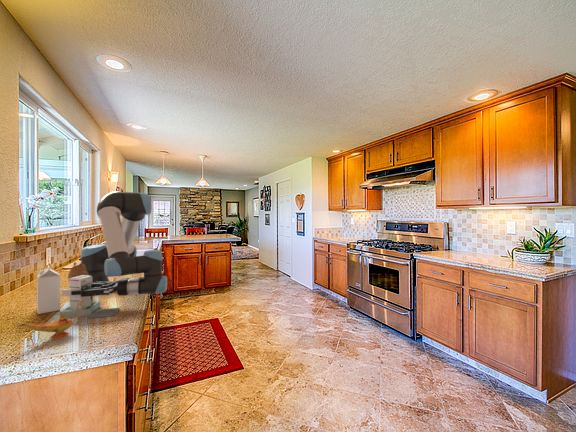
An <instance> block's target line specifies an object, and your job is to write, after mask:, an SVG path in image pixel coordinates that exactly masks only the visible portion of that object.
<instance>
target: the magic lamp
mask: <svg viewBox="0 0 576 432" xmlns="http://www.w3.org/2000/svg"><path fill="white" fill-rule="evenodd" d="M82 300H83V299H82ZM82 300H81V301H80V302H79V301H78V302H79V304H78V302H77V304H78V305H80V306H81V307H83V306H82V305H81V302H82V303H83V301H82ZM77 307H78V308H79V306H77ZM78 308H77V310H76V311H77V312H78ZM83 308H84V309H85V307H83ZM85 311H86V309H85ZM85 311H84V312H83V313H82V314H81V315H83V314H84V313H85ZM77 312H75V314H74V315H76V314H77ZM74 315H73V317H69V316H65V314H64V313H63V314H62V316H61V317H60V316H59V318H57V320H55V321H51V322H49V323H43V324H32V323H31V324H28V323H23V324H22V323H21V324H18V325H16V327H24V328H27V329H29V330H33V331H38V332H43V333H46V332H47V333H54V334H52V335H51V336H50V337H49V338H50V339H51V340H57V339H62V338H66V337H68V336H70V333H69V332H68V331H67V332H66V330H67V329H69V328H71V326H76V325H78V323H79V322H78V321H77V322H76V324H74V321H76V320H77V319H79V318H80V317H82V316H81V315H80V316H76V318H74ZM73 318H74V319H73ZM72 319H73V320H72Z"/></svg>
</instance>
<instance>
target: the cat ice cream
mask: <svg viewBox="0 0 576 432" xmlns="http://www.w3.org/2000/svg"><path fill="white" fill-rule="evenodd" d="M67 275H68V276H67V279H68V282H69V279H70V278H73V277H78V276H81V275H88V272H87V271H86V266H85V265H84V264H83V263H81V262H80V263H77V262H76V261H73V266H71V268H70V270H69V272H68V274H67Z"/></svg>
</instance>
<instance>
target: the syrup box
mask: <svg viewBox="0 0 576 432" xmlns="http://www.w3.org/2000/svg"><path fill="white" fill-rule="evenodd" d="M68 280H69V281H68V282H69V283H68V286H69V287H68V289H78V288H81V287H83V289H87V288H92V276H90V275H81V276H78V277H73V278H70V279H69V278H68ZM68 298H69V305H70V310H77V308H78V307H77V306H79V308H78V310H79V309H84V308H83V307H85V309H90V308H91V307H92V306H93V302H94V301H93V299H94V296H86V297H81V295H78V296H68ZM82 299H83V300H82ZM81 300H82V301H83V303H82V302H81V305H82V306H83V307H81V306H80V305H78V304H79V302H80V301H81ZM78 301H79V302H78ZM77 302H78V304H77Z"/></svg>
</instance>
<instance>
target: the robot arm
mask: <svg viewBox="0 0 576 432" xmlns="http://www.w3.org/2000/svg"><path fill="white" fill-rule="evenodd" d="M152 210H153V209H152V199H151V197H150V195H149V194H148V193H146V192H145V193H144V192H133V191H130V192H129V191H111V192H108V193H107V194H106V195H104V196H102V198H101V199H100V200H99V202H98V204H97V206H96V215H97V218H98V219H99V220H101V221H100V222H101V227H102V231H103V236H104V242H105V244H104V243H102V244H93V245H87V246H85V247H83V248H81V251H80V263H83V264H84V265H85V266H86V271H87V272H88V275H90V276H92V288H87V289H83V287H81V288H78V289H69V288H67V289H65V288H63V289H62V291H61V292H62V293H61V296H62V297H69V296H78V295H81V297H86V296H93V297H95V296H109V295H111V294H113V293H115V292H116V294H117V295H118V297H121V296H123V297H124V296H128V295H129V296H133V295H134V296H138V295H149V294H151V295H153V294H156V295H157V294H162V293H166V292H167V289H168V277H167V275H163V252H162V250H160V249H159V250H158V249H153V250H152V249H149V250H145V251H144V252H143V255H137V252H138V251H137V247H136V245H134V243H135V242H134V241H135V240H136V236H137V232H138V230H139V227H140V223H141V221H144V219H145V218H146V216H148V215H151V214H152ZM121 217H122V220H121ZM137 274H143V277H142V276H141V277H140V276H138V277H134V276H133V277H130V278H129V277H123V276H128V275H137ZM111 277H112V278H115V277H118V278H119V277H121V278H119V279H118V280H110V279H109V278H111Z"/></svg>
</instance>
